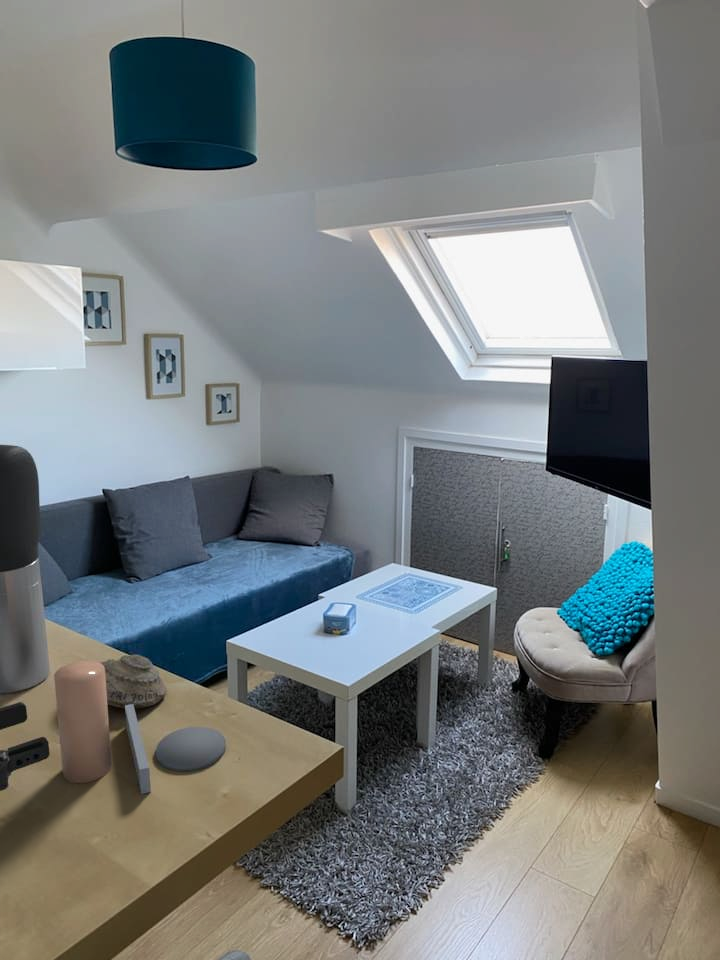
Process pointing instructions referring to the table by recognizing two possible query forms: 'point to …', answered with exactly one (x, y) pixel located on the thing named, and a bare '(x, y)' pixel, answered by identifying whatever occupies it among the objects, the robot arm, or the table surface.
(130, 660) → the fossilized seashell
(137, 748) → the gray rectangular bar
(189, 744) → the slate coaster
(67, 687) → the peach rounded cylinder
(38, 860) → the table surface
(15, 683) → the robot arm
